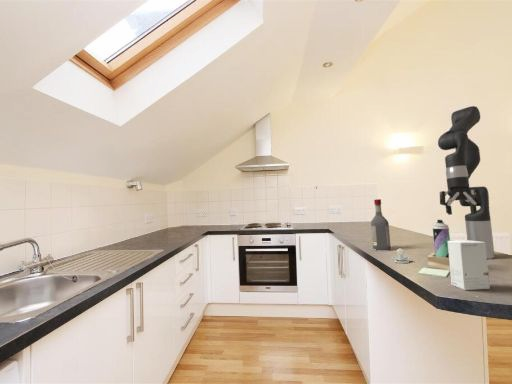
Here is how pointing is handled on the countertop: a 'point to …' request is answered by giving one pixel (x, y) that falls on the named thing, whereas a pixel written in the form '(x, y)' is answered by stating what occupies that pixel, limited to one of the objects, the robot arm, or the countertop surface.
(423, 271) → the mat
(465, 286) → the skincare box
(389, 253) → the countertop surface
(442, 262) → the wooden box holder
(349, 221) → the countertop surface
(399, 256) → the pacifier
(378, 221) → the liquor
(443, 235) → the spray can
